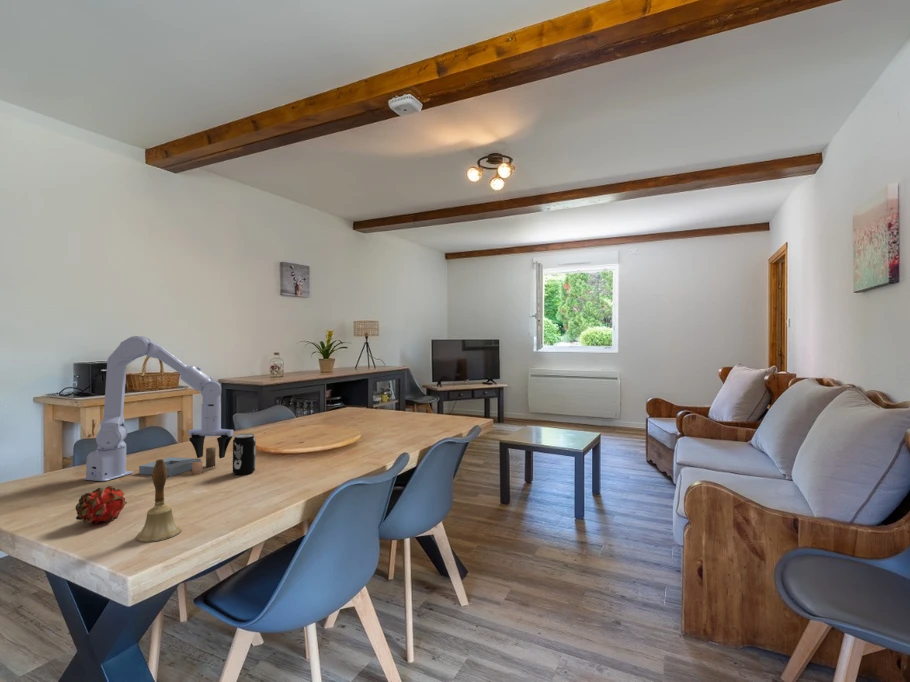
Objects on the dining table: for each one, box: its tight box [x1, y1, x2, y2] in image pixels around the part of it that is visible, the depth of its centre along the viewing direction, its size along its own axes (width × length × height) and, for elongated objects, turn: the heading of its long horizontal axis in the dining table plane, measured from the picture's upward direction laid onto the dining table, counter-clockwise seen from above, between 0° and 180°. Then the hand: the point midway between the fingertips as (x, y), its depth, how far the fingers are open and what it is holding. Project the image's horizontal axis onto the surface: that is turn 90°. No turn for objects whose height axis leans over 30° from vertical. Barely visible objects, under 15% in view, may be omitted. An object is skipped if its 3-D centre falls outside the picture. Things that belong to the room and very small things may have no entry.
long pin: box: [205, 447, 217, 468], centre depth 152 cm, size 3×3×6 cm
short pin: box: [191, 460, 203, 475], centre depth 144 cm, size 3×3×4 cm
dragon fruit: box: [75, 485, 128, 526], centre depth 105 cm, size 8×8×12 cm
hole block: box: [138, 456, 202, 477], centre depth 147 cm, size 12×12×2 cm
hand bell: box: [135, 458, 183, 543], centre depth 98 cm, size 8×8×16 cm
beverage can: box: [232, 433, 257, 476], centre depth 145 cm, size 7×7×12 cm
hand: (210, 457), depth 152 cm, fingers open, 7 cm apart
